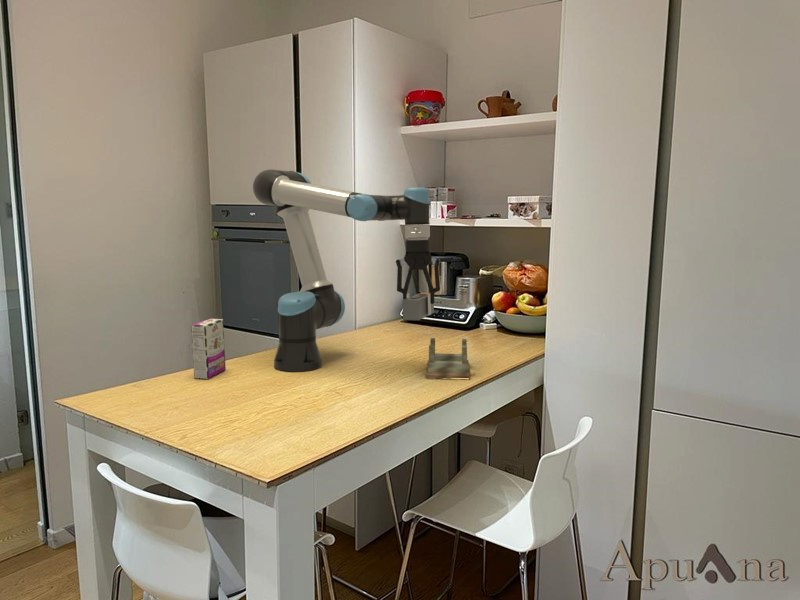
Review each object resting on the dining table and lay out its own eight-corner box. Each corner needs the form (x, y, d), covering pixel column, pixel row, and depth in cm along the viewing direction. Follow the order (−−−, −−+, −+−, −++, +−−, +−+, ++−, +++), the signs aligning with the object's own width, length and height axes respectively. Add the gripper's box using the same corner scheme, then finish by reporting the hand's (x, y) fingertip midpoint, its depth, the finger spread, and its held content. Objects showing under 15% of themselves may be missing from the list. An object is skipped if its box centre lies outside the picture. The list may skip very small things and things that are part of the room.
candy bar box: (211, 369, 194) (209, 318, 192) (226, 370, 193) (224, 318, 191) (192, 379, 183) (190, 324, 181) (208, 380, 182) (205, 325, 180)
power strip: (402, 319, 185) (402, 298, 184) (418, 312, 200) (418, 292, 199) (418, 320, 183) (418, 298, 182) (433, 312, 198) (433, 292, 197)
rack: (425, 378, 184) (425, 349, 183) (428, 362, 204) (428, 335, 203) (469, 379, 183) (469, 350, 182) (468, 363, 203) (468, 336, 201)
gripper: (385, 240, 186) (387, 316, 189) (448, 238, 184) (449, 316, 187) (388, 239, 193) (390, 312, 196) (448, 238, 191) (449, 312, 194)
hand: (419, 314), depth 191 cm, fingers closed on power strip, 6 cm apart
